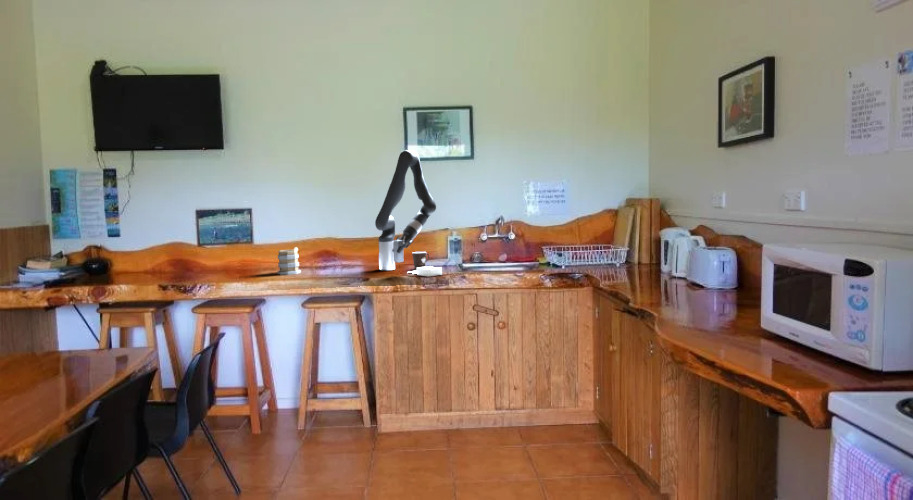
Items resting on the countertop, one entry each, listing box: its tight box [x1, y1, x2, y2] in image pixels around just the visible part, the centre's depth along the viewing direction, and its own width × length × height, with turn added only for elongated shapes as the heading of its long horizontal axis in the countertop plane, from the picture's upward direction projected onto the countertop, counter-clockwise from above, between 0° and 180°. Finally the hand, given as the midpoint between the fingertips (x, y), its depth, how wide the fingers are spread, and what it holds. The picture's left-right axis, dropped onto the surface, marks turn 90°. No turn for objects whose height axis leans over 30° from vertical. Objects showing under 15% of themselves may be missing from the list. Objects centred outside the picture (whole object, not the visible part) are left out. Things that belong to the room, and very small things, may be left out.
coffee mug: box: [412, 251, 430, 270], centre depth 354 cm, size 12×9×10 cm
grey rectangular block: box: [393, 239, 405, 263], centre depth 326 cm, size 4×4×12 cm
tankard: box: [276, 246, 302, 276], centre depth 354 cm, size 20×13×15 cm, turn 168°
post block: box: [407, 265, 443, 278], centre depth 329 cm, size 20×10×4 cm, turn 39°
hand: (395, 252), depth 325 cm, fingers closed on grey rectangular block, 4 cm apart
